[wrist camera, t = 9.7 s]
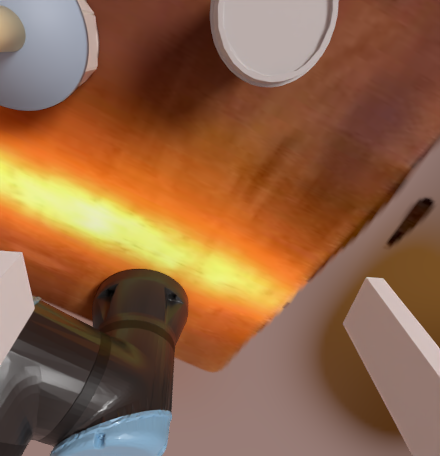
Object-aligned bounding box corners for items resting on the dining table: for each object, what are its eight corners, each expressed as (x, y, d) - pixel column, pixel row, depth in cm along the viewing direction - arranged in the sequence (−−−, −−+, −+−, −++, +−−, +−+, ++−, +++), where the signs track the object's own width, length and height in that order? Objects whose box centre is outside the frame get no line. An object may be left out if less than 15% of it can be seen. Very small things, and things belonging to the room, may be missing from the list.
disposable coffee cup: (194, 57, 33) (193, 62, 22) (224, -54, 28) (240, -110, 18) (273, 88, 35) (305, 106, 25) (312, -10, 30) (372, -38, 20)
